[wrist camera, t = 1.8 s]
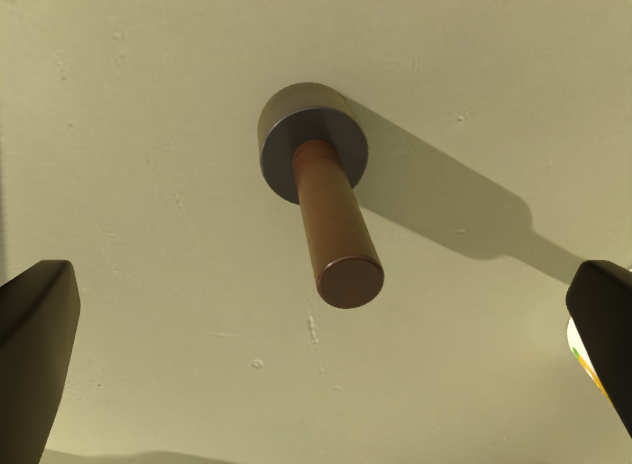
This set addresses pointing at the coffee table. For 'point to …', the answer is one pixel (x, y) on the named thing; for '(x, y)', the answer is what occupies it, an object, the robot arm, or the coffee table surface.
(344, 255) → the stick grenade
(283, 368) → the coffee table surface
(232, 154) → the coffee table surface
